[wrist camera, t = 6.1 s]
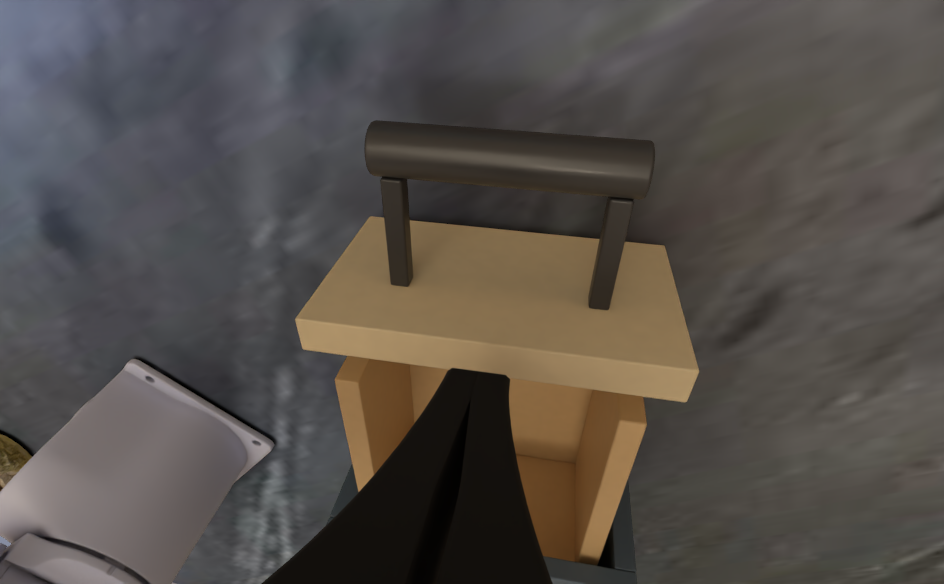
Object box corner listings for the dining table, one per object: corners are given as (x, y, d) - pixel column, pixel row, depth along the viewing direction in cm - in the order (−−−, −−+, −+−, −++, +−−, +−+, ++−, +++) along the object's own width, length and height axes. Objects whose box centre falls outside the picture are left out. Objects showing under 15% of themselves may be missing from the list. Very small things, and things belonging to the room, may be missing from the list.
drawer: (353, 79, 16) (249, 147, 11) (706, 101, 14) (774, 191, 10) (394, 426, 26) (351, 542, 21) (603, 458, 25) (609, 591, 20)
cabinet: (385, 383, 26) (321, 534, 19) (622, 418, 24) (638, 594, 18) (402, 521, 34) (361, 660, 27) (581, 553, 32) (582, 709, 26)
